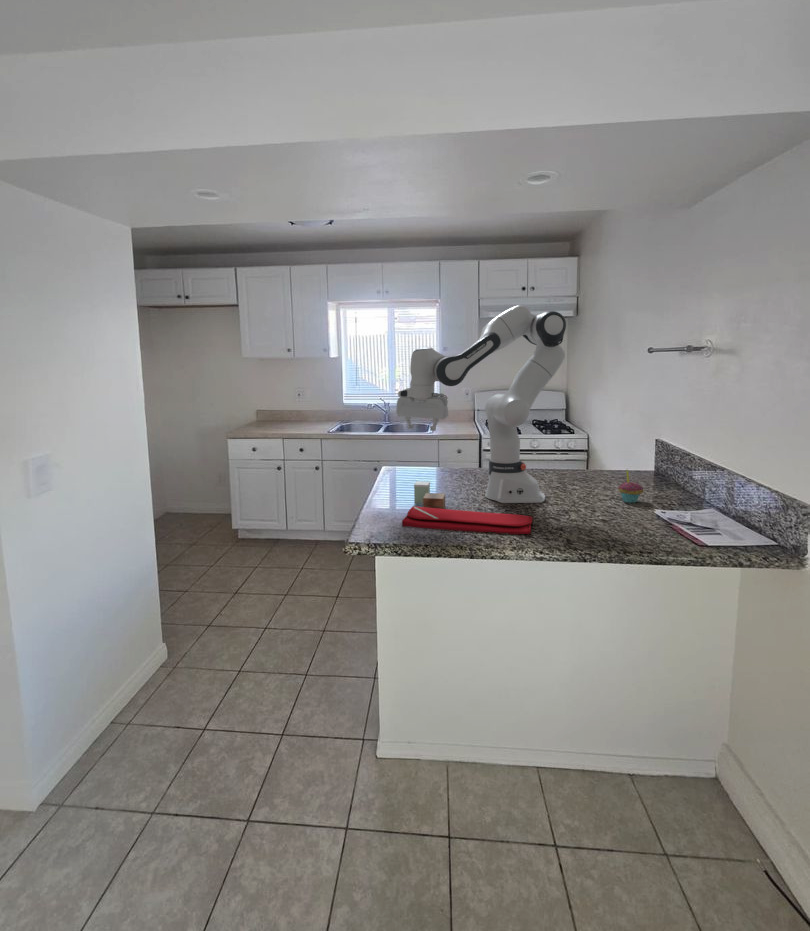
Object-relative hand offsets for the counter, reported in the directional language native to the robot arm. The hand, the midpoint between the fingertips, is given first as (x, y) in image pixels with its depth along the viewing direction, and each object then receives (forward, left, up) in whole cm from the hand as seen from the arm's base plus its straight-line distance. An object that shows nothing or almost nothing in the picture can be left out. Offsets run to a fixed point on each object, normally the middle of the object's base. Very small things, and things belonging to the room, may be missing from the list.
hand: (421, 429), depth 207 cm
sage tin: (-1, +3, -27) cm, 27 cm away
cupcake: (-77, -9, -27) cm, 82 cm away
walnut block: (-7, +12, -27) cm, 30 cm away
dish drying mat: (-20, +27, -28) cm, 44 cm away
